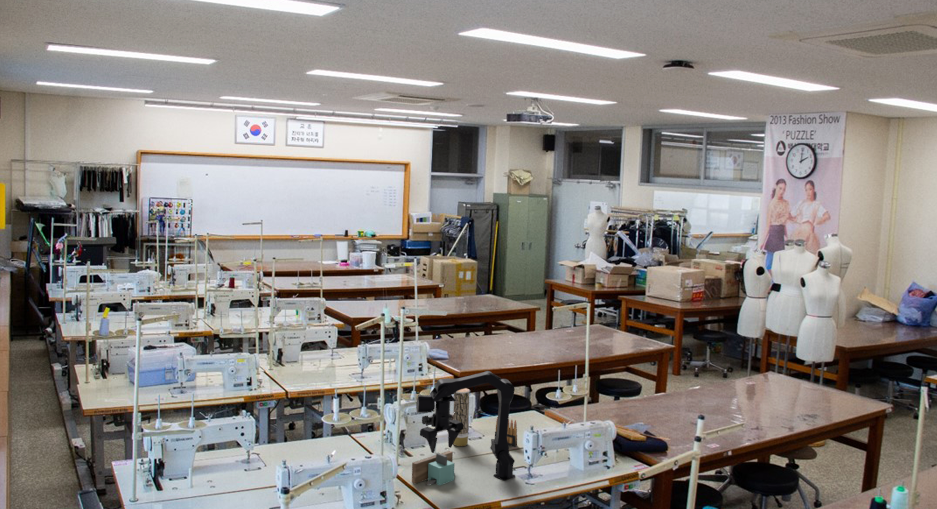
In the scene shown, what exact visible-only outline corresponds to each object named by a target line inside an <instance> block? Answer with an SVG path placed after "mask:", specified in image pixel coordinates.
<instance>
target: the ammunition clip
mask: <svg viewBox="0 0 937 509" xmlns="http://www.w3.org/2000/svg"><path fill="white" fill-rule="evenodd" d="M495 421H496V424H495V431H494V438H495V437H496V434H497V421H498V416H497V418H496V420H495ZM517 426H518V425H517V420H516V419H515V420H514V422H513V419H511V420H510V418H509V419H508V432H507V441H508V445H509V447H513V448H517V447H518V433H517V432H518V427H517Z"/></svg>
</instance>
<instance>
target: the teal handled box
mask: <svg viewBox="0 0 937 509" xmlns="http://www.w3.org/2000/svg"><path fill="white" fill-rule="evenodd" d="M435 455H436V461H434V462H431V463H428V479H427V481H428V480H432V479H437V483H436V485H437V486H442V485H445V484H448V483H450V482H453V481H455V476H454V473H455V462H453V461H452V462H450V461H448V460H447V456H445V455H443V454H440V452H437V453H436V454H435Z"/></svg>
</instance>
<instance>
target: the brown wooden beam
mask: <svg viewBox="0 0 937 509" xmlns="http://www.w3.org/2000/svg"><path fill="white" fill-rule="evenodd" d="M439 453H440V452H439ZM440 454H443V455H445V456H447V460H448V461H450V462H453V451H451V450H446V451H444V452H441V453H440ZM434 461H436V454H435V455H431V456H429V457H425V458H423V459H420V460H416V461H413V462H412V464H411V483H413V484H418V482H419V483H421V482H424V481H426V485H427V486H431V485H433V484H437V479H432V480H429V481H428V463H431V462H434ZM455 474H456V473H455V472H454V477H455ZM430 484H431V485H430Z"/></svg>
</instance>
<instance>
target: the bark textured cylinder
mask: <svg viewBox="0 0 937 509" xmlns="http://www.w3.org/2000/svg"><path fill="white" fill-rule="evenodd" d="M453 397H454V398H455V401H453V413H454V412H455V413H454V415H453V414H452V417H453V419H452V420H457V421H460V422H462V423H463V430H461V432H460V433H459V434H458V436H457V438H456V439H455V441H454V443H453V446H456V447H465V446H467V445H468V440H469V418H470V417H469V416H470V415H469V412H470V389H469V388H465V389H461V390H459V391H457V392H456V393H454V394H453Z"/></svg>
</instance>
